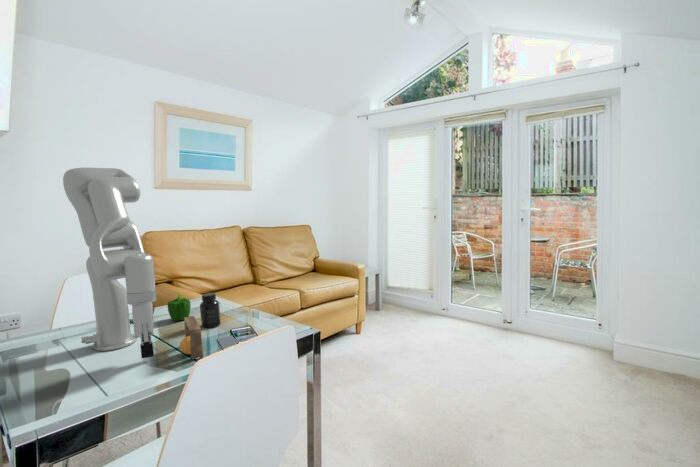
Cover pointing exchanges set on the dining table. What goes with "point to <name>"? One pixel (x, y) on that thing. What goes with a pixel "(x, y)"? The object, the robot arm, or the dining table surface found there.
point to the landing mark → (230, 341)
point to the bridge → (194, 336)
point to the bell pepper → (179, 308)
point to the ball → (185, 345)
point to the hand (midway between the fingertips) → (147, 356)
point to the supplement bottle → (210, 311)
